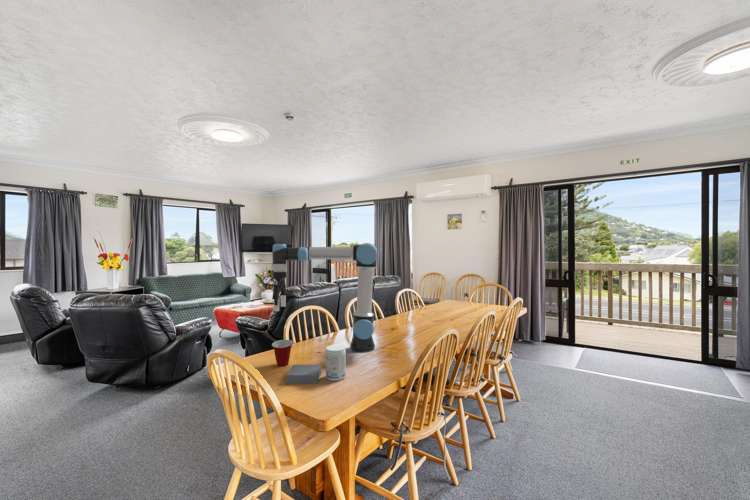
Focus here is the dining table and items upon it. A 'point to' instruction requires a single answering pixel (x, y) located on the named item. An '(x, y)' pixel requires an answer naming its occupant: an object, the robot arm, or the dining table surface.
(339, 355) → the supplement tub
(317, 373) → the plinth
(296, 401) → the dining table surface
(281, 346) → the plastic cup
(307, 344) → the dining table surface
